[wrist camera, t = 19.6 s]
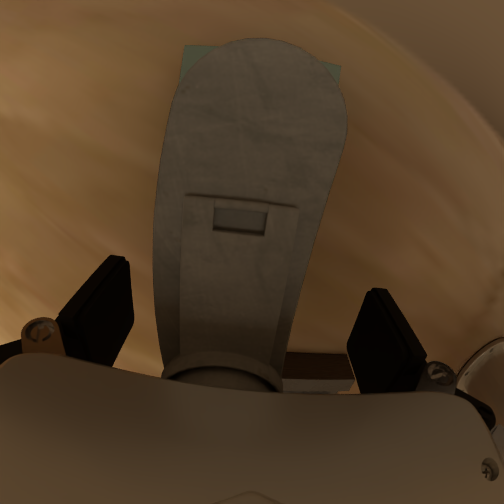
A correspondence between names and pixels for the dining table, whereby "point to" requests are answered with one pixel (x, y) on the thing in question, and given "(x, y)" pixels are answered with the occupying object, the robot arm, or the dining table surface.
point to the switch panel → (316, 373)
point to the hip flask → (241, 209)
